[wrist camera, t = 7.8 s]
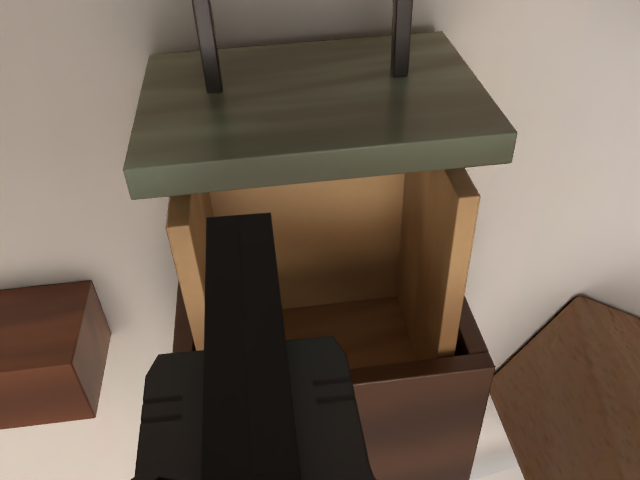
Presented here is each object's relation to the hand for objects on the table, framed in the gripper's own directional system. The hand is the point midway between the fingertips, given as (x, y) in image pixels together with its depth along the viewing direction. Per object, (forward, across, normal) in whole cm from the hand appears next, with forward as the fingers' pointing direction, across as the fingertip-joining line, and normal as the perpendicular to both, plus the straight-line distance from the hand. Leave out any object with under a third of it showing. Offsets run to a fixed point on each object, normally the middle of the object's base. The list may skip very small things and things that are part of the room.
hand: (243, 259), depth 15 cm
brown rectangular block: (+15, -12, -16) cm, 25 cm away
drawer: (+14, +3, -5) cm, 15 cm away
